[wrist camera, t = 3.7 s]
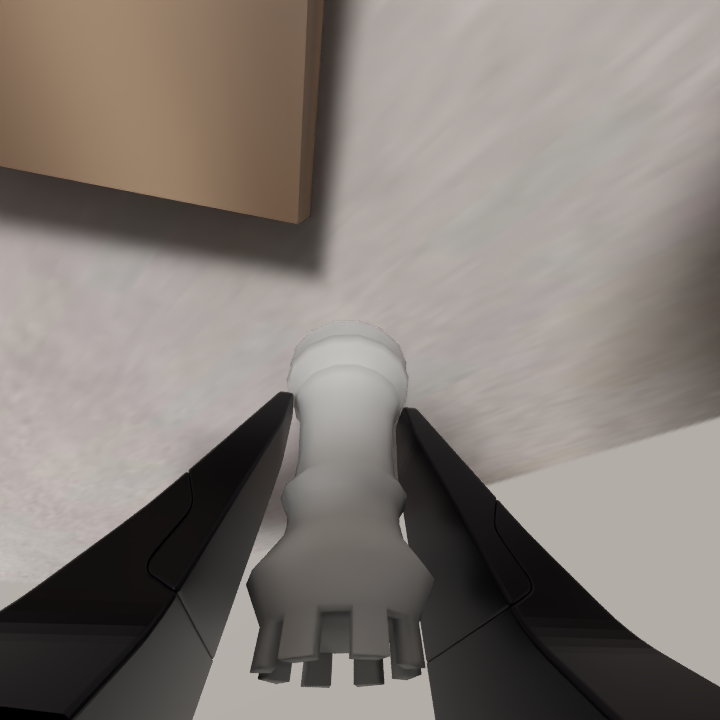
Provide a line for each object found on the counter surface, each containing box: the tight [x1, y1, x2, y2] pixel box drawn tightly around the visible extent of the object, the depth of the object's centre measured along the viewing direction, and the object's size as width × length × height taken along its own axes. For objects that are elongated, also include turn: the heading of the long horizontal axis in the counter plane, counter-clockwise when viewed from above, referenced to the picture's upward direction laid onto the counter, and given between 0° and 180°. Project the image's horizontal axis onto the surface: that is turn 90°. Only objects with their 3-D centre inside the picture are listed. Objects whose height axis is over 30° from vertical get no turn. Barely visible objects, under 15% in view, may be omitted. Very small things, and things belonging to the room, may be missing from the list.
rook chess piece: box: [246, 321, 435, 688], centre depth 7 cm, size 4×4×8 cm
